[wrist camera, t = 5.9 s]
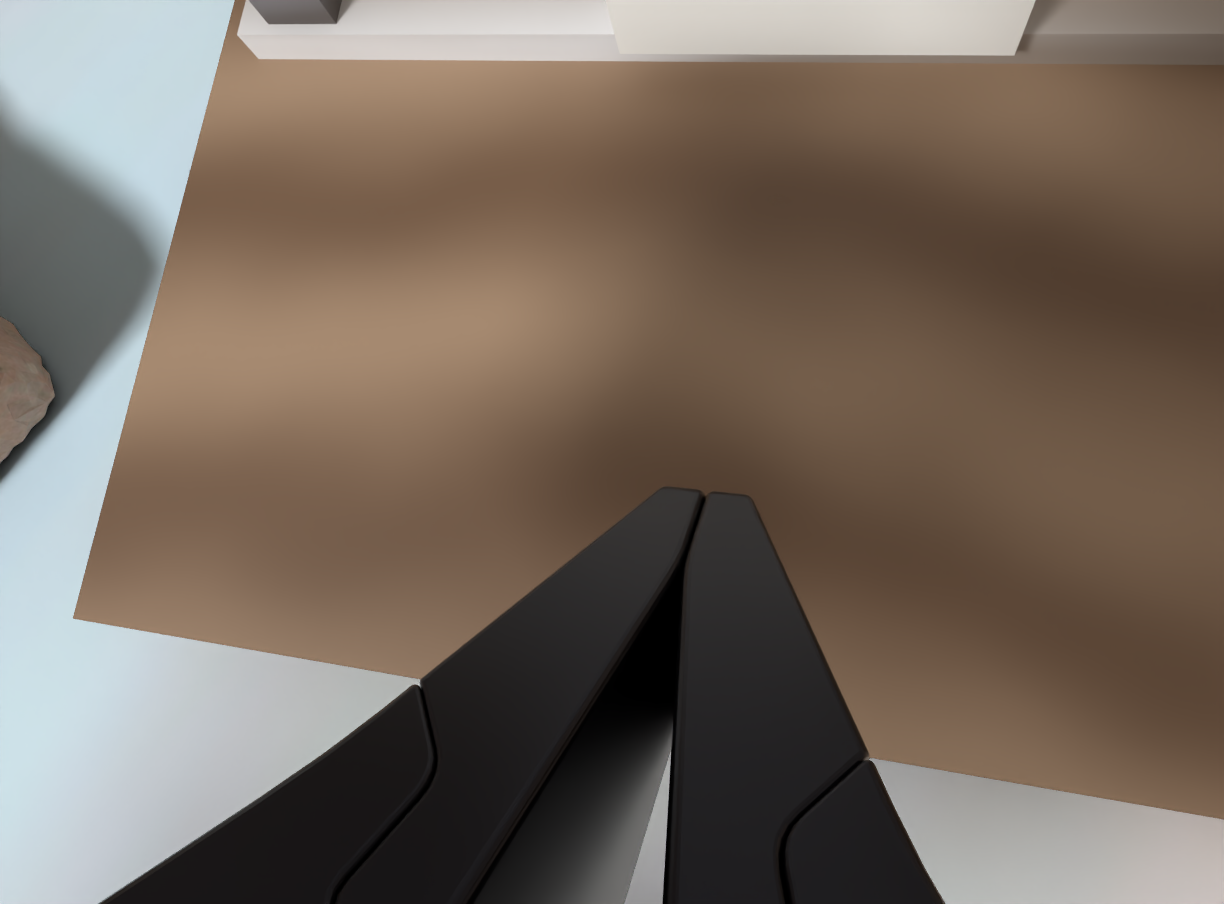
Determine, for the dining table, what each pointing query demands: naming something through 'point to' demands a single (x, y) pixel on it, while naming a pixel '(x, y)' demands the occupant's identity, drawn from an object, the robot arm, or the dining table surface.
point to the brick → (20, 388)
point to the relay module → (819, 26)
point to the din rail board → (710, 359)
